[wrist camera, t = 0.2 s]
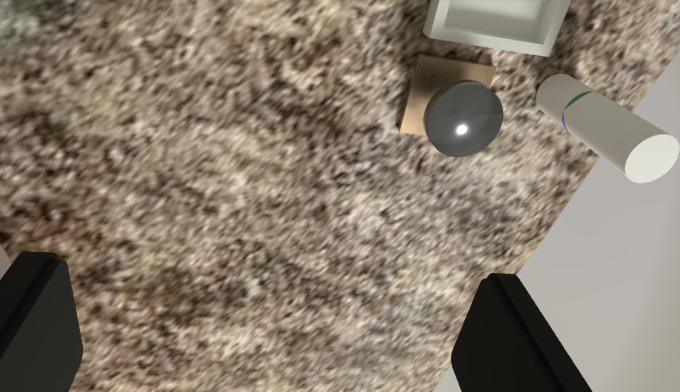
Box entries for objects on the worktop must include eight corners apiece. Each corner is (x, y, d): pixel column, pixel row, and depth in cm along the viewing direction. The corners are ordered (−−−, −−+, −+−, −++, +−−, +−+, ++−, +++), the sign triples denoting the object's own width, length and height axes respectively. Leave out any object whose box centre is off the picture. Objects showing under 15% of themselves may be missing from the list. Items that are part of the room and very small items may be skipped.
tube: (582, 76, 48) (689, 137, 36) (565, 114, 50) (661, 184, 38) (544, 71, 47) (641, 131, 35) (529, 110, 50) (615, 180, 37)
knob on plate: (416, 52, 45) (436, 73, 39) (492, 64, 46) (521, 86, 41) (397, 128, 49) (412, 157, 43) (467, 136, 50) (491, 165, 45)
